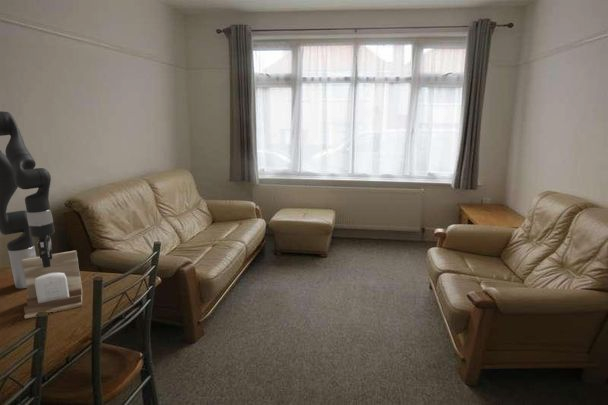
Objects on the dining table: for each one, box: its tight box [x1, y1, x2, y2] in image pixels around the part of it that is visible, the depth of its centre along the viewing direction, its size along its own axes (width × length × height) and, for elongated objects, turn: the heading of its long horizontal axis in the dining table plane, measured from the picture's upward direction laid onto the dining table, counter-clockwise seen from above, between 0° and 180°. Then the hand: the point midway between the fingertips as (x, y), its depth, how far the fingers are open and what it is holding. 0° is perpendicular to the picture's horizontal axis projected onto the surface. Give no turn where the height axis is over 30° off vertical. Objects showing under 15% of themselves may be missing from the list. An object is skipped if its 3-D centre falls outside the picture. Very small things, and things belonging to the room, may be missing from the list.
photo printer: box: [35, 273, 69, 303], centre depth 142 cm, size 10×4×12 cm, turn 122°
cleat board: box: [22, 250, 83, 319], centre depth 143 cm, size 16×18×18 cm
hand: (48, 263), depth 140 cm, fingers open, 8 cm apart
